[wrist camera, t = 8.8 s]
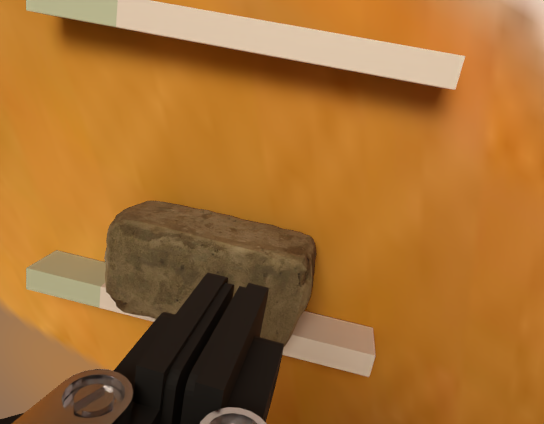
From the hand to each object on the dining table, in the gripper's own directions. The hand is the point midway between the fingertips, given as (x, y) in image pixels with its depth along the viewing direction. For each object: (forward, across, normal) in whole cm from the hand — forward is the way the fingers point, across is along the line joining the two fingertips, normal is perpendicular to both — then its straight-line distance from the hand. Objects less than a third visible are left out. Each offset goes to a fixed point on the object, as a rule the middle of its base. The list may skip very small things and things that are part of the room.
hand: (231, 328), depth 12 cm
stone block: (+16, +7, +6) cm, 19 cm away
